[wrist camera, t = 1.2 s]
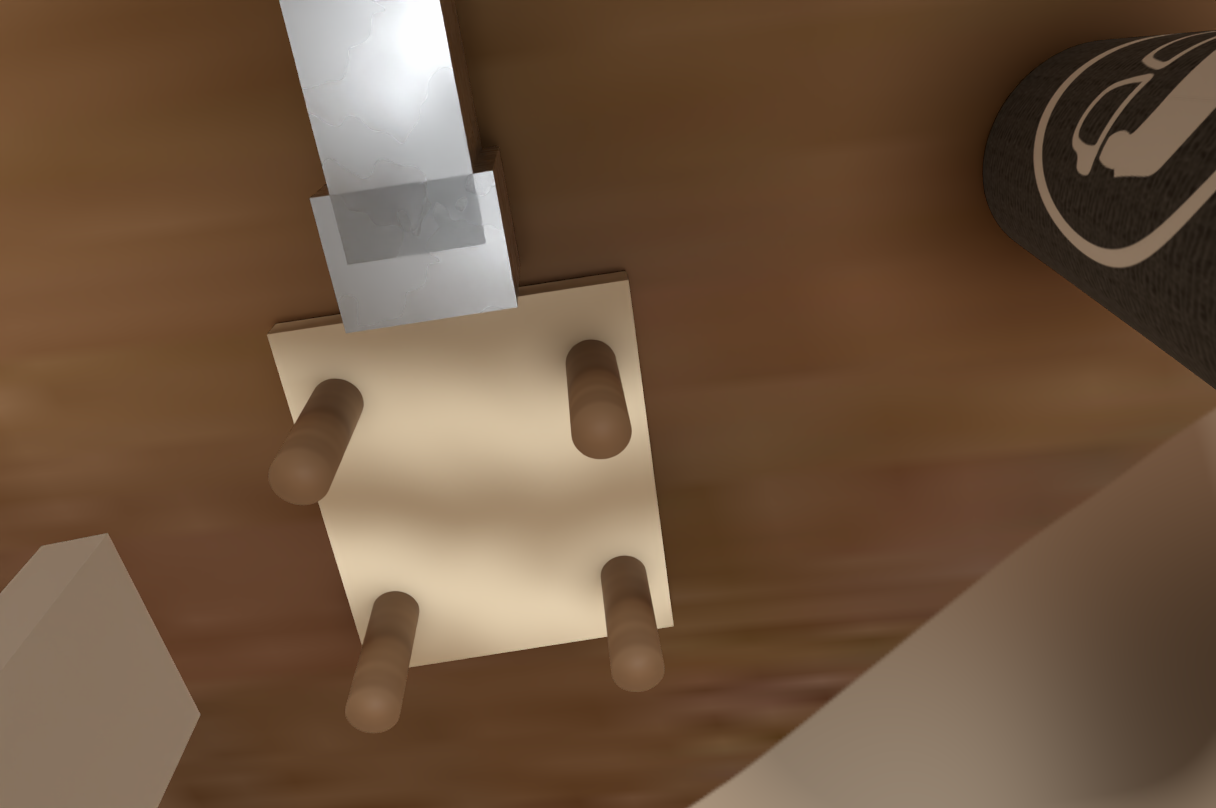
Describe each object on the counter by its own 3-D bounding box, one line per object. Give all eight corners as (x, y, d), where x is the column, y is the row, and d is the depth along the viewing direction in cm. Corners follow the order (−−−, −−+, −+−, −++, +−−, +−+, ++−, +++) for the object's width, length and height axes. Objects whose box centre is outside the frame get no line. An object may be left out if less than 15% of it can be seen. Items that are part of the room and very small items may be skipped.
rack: (275, 323, 28) (213, 400, 23) (625, 270, 29) (646, 334, 23) (374, 655, 34) (343, 781, 28) (669, 609, 34) (695, 726, 28)
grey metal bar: (239, -248, 23) (175, -302, 19) (424, -274, 23) (399, -334, 19) (372, 286, 28) (345, 333, 24) (520, 263, 28) (517, 307, 24)
